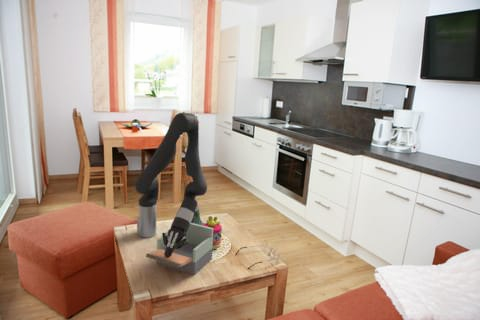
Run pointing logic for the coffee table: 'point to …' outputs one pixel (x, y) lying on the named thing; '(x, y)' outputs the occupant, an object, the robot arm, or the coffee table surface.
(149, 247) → the coffee table surface
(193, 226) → the truck bed
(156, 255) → the panel
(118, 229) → the coffee table surface
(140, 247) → the coffee table surface
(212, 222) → the cake
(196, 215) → the tree stump
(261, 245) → the eyeglasses
